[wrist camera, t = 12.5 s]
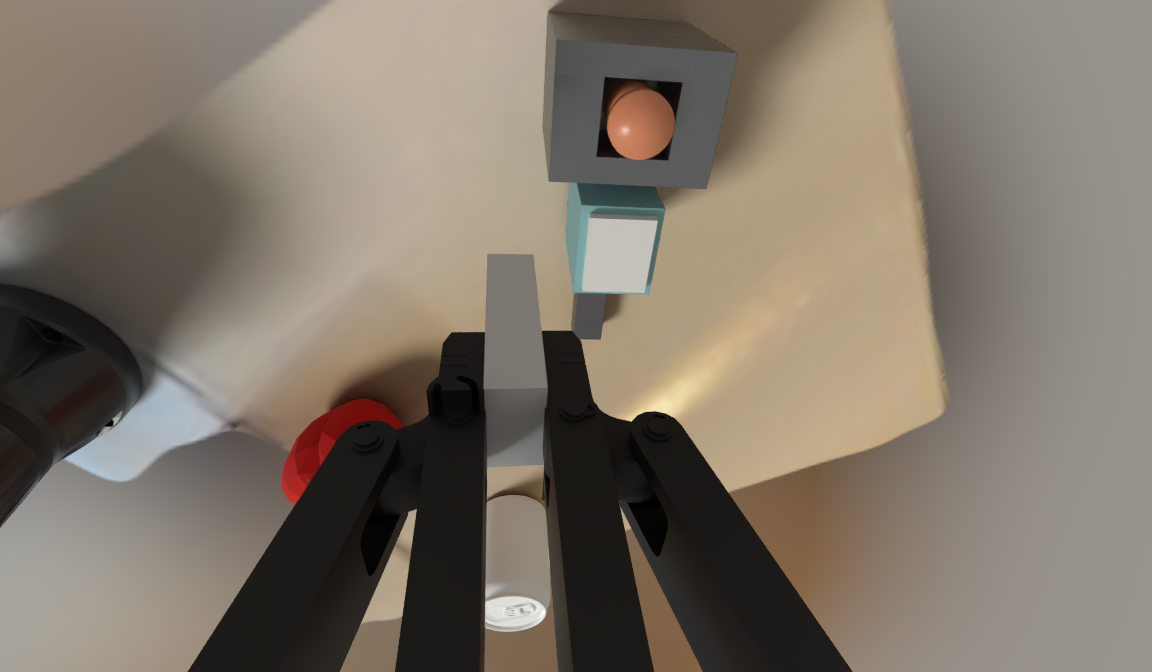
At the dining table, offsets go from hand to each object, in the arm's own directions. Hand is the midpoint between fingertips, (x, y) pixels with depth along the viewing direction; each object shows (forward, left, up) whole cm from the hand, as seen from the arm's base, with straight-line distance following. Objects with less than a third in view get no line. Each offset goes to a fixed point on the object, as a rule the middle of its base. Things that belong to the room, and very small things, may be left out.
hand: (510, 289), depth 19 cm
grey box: (+6, +2, -23) cm, 24 cm away
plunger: (+6, +2, -18) cm, 19 cm away
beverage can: (0, -46, -24) cm, 51 cm away
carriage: (+6, -6, -23) cm, 25 cm away
